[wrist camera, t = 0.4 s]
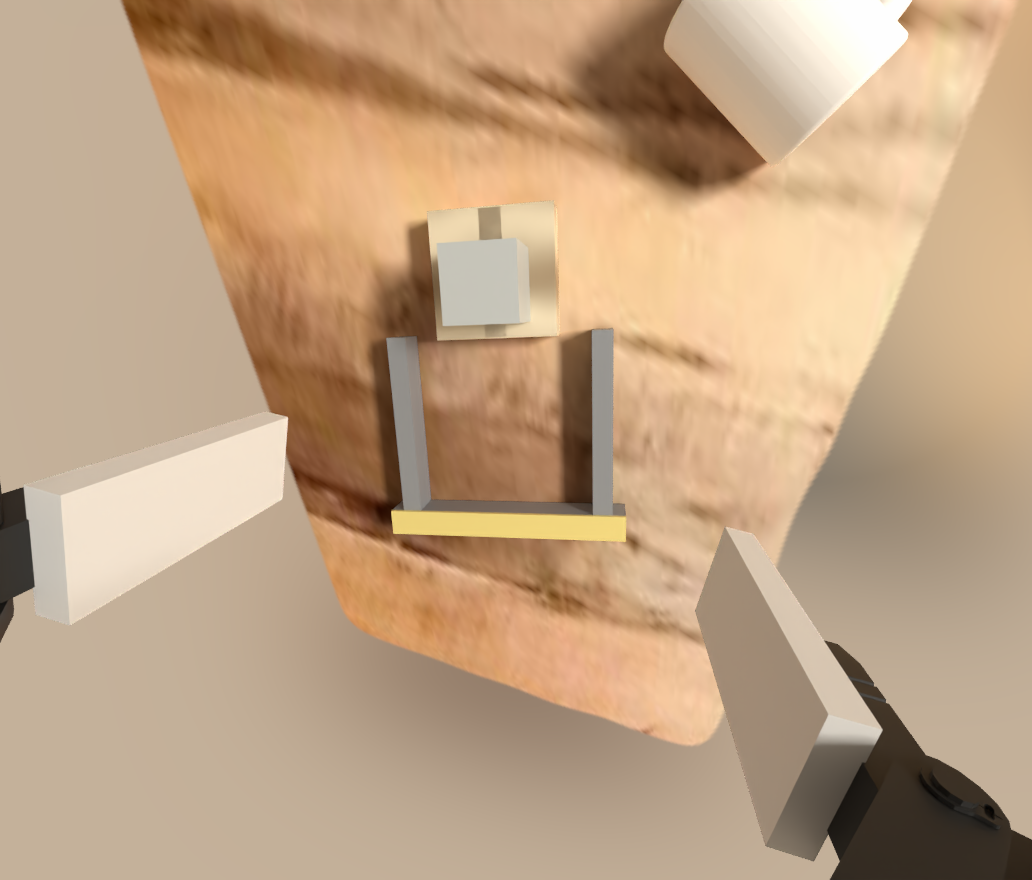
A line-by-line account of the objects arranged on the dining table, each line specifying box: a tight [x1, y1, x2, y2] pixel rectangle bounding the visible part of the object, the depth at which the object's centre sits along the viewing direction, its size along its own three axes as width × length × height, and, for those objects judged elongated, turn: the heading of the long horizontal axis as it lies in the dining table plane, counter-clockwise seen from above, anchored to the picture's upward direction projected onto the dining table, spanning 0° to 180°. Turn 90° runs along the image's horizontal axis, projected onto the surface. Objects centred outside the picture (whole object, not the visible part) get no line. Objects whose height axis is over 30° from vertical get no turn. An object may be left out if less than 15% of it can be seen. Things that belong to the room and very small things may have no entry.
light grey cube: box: [437, 238, 531, 326], centre depth 33 cm, size 5×5×5 cm
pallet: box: [427, 200, 560, 341], centre depth 37 cm, size 9×9×3 cm
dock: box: [386, 329, 626, 542], centre depth 39 cm, size 16×19×3 cm
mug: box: [664, 0, 912, 167], centre depth 28 cm, size 12×10×8 cm
